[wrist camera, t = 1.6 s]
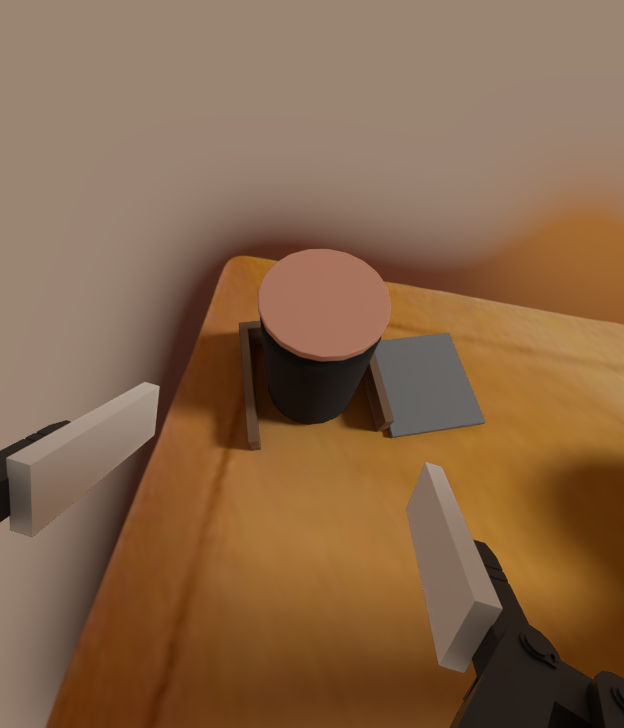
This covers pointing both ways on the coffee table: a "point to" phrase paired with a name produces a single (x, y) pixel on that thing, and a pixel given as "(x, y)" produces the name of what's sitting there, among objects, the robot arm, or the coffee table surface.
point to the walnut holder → (248, 337)
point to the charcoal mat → (426, 385)
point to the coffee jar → (319, 330)
